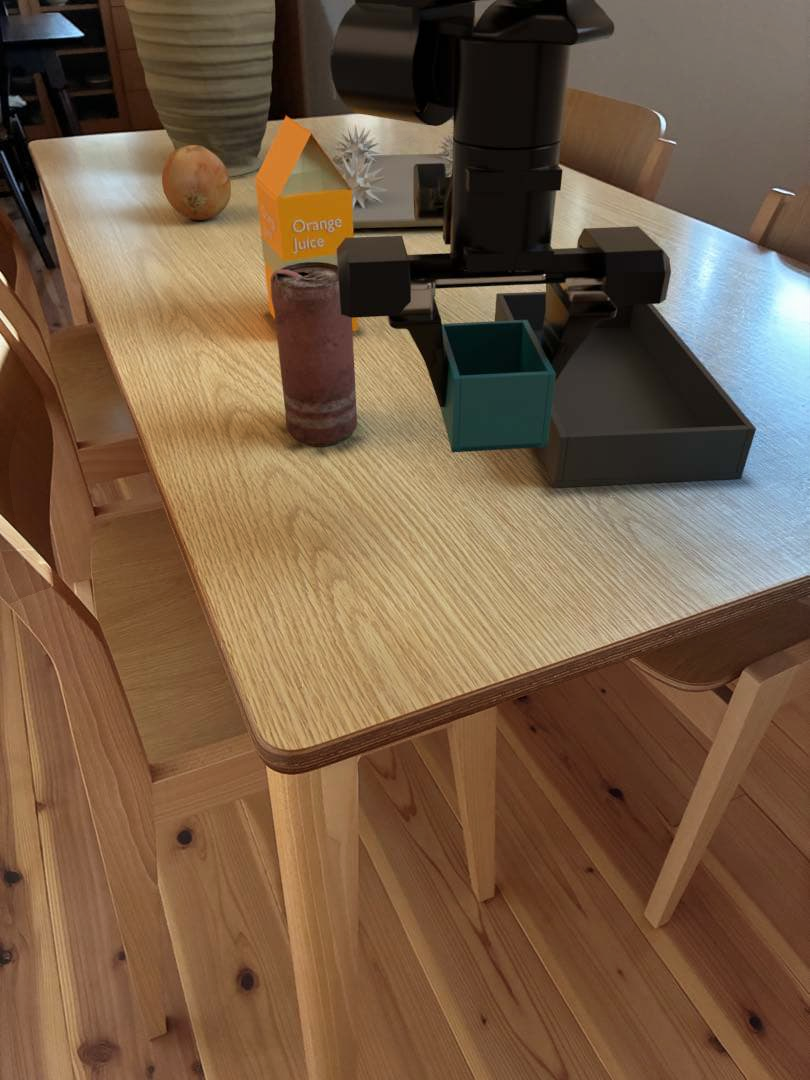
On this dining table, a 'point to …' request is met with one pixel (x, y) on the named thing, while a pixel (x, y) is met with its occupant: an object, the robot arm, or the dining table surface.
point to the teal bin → (496, 386)
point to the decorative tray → (384, 182)
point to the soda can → (314, 353)
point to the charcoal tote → (635, 404)
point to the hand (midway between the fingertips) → (490, 401)
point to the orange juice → (301, 203)
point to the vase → (209, 72)
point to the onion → (196, 182)
